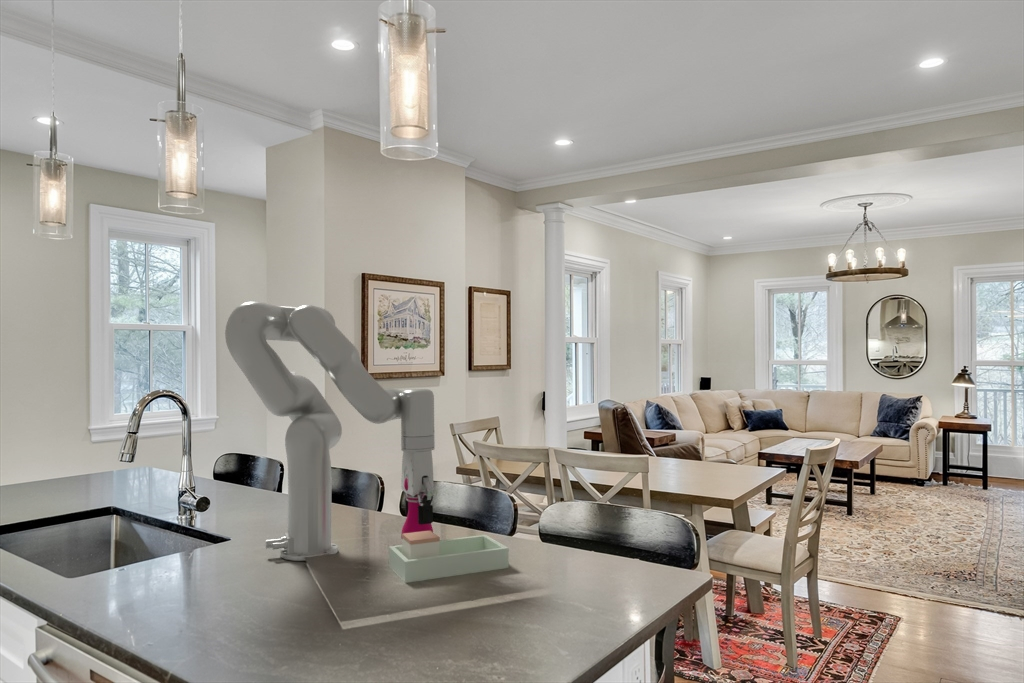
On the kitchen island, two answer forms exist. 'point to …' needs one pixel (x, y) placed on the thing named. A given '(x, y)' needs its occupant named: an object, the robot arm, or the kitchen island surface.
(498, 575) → the kitchen island surface
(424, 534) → the box
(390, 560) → the tray
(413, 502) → the pepper mill
